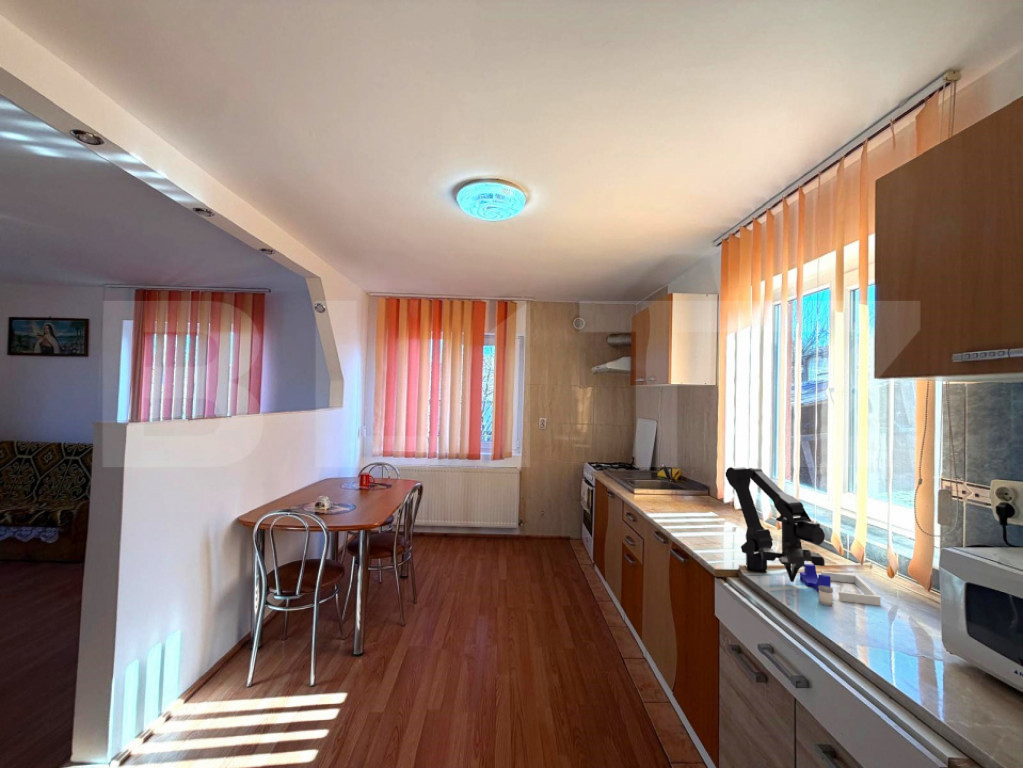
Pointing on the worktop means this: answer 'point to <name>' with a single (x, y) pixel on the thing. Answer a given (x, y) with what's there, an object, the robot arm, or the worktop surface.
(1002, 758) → the worktop surface
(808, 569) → the cable clip
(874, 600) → the parts tray
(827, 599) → the grey cylinder
